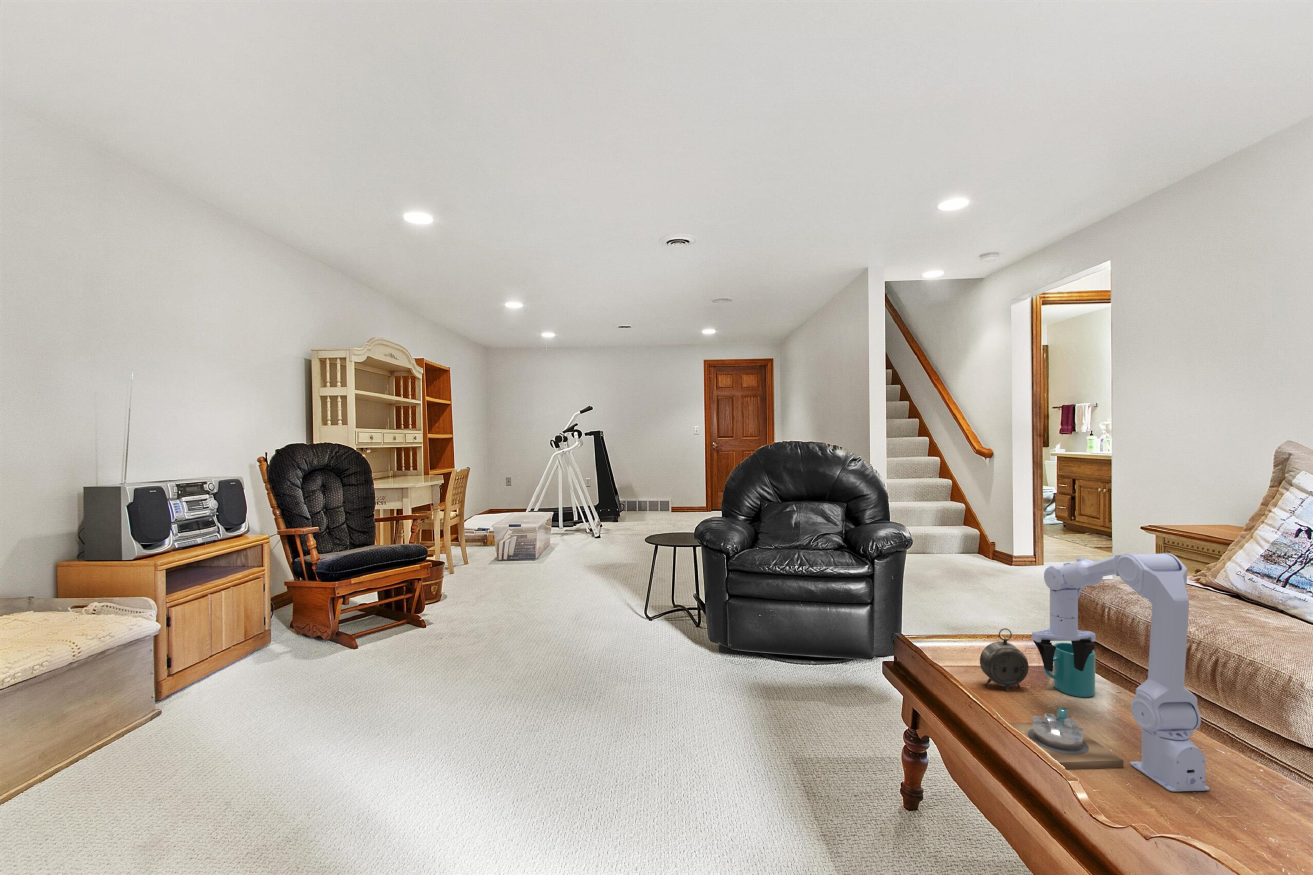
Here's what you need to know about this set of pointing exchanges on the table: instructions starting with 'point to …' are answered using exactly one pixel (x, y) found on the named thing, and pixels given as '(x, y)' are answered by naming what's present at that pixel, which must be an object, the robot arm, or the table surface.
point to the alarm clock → (1004, 663)
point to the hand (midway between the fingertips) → (1063, 669)
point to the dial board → (1076, 752)
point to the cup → (1072, 672)
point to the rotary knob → (1058, 730)
